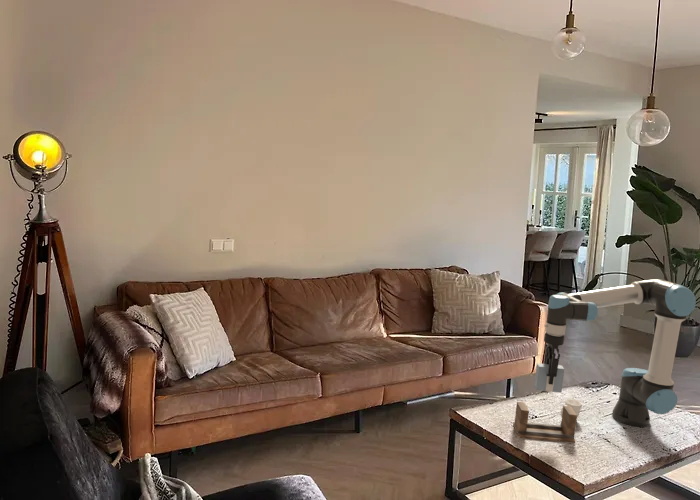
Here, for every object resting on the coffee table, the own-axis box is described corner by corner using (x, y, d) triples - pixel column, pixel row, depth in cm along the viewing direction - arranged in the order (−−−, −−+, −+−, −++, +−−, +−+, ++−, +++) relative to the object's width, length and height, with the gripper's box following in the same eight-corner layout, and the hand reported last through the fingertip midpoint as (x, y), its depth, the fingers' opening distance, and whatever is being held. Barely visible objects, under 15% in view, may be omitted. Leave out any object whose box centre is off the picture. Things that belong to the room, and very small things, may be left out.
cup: (583, 422, 255) (585, 404, 254) (566, 425, 251) (568, 407, 250) (571, 415, 261) (573, 398, 260) (554, 418, 257) (556, 400, 256)
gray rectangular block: (558, 388, 241) (561, 365, 240) (561, 392, 237) (564, 368, 236) (534, 386, 242) (536, 363, 240) (536, 390, 238) (539, 366, 236)
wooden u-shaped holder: (566, 429, 247) (569, 404, 245) (575, 443, 235) (578, 417, 233) (513, 424, 248) (516, 399, 246) (519, 437, 236) (522, 411, 234)
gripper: (540, 326, 245) (533, 380, 248) (550, 338, 228) (543, 396, 231) (558, 328, 244) (551, 382, 248) (570, 340, 227) (562, 398, 231)
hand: (547, 388), depth 239 cm, fingers closed on gray rectangular block, 4 cm apart
